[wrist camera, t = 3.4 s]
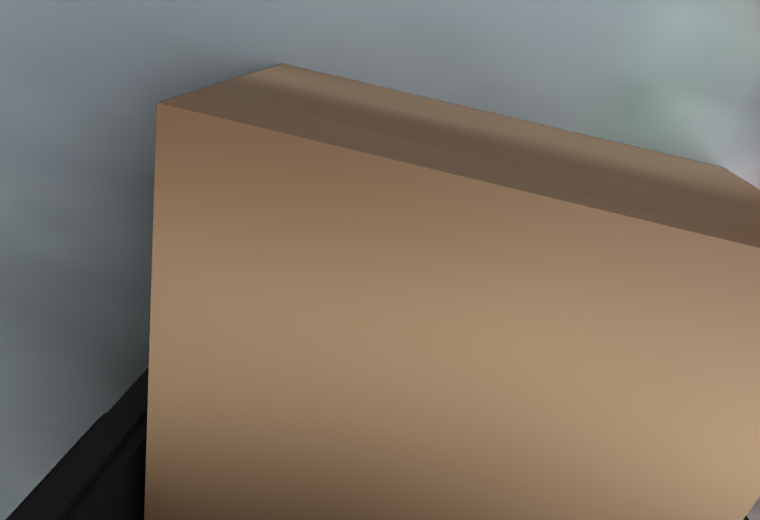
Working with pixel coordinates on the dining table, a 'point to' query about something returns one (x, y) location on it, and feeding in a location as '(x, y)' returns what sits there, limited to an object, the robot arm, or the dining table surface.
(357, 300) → the walnut slab
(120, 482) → the robot arm
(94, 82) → the dining table surface
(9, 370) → the dining table surface
